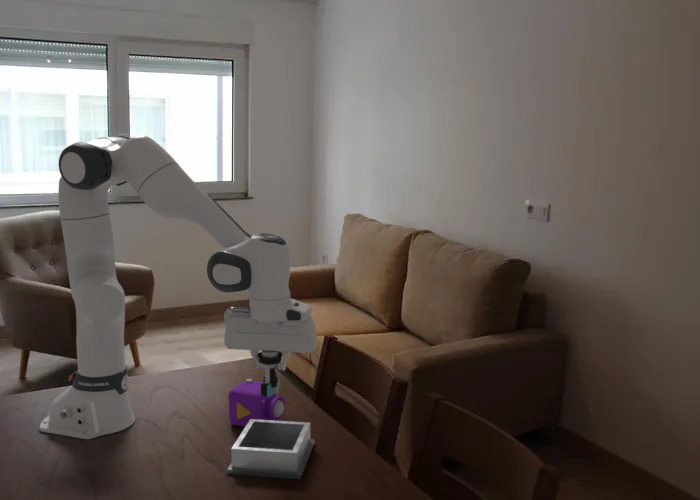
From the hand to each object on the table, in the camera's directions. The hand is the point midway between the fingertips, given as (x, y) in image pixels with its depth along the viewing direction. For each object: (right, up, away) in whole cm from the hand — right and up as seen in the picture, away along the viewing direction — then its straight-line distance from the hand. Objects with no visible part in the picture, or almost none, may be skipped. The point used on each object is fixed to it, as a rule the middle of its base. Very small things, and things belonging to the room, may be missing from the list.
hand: (271, 369), depth 153 cm
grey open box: (0, -21, +4) cm, 21 cm away
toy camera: (-6, -18, +22) cm, 29 cm away
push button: (0, -5, +1) cm, 6 cm away
